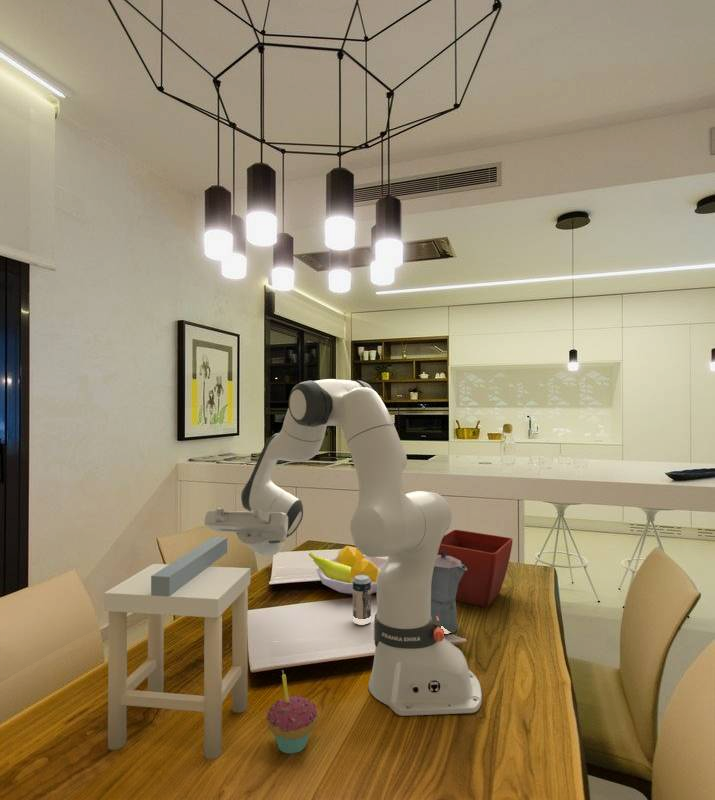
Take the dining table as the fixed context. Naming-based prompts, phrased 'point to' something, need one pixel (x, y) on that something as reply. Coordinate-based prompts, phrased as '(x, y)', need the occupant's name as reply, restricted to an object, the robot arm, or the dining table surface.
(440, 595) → the moka pot
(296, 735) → the cupcake
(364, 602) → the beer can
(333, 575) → the fruit bowl
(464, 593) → the plant pot
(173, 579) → the blue-gray rectangular bar
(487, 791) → the dining table surface
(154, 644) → the stool
